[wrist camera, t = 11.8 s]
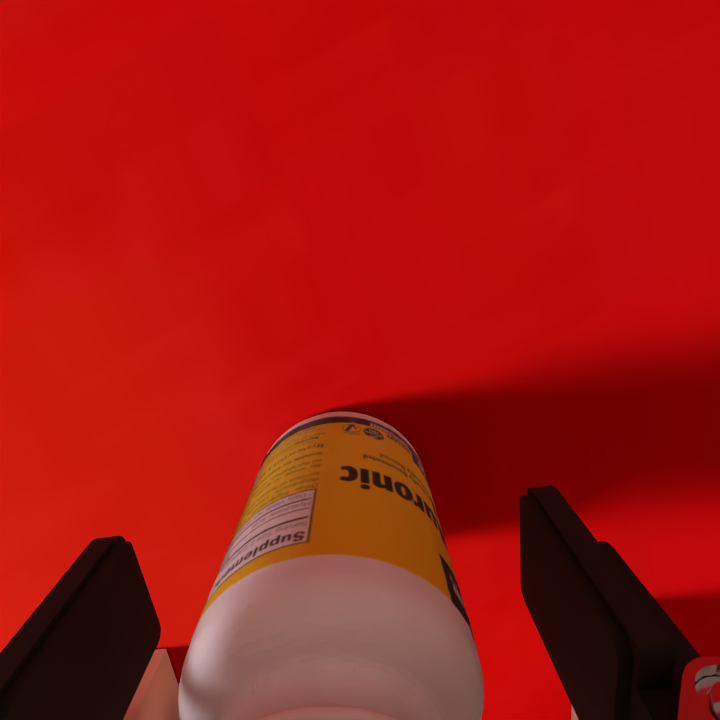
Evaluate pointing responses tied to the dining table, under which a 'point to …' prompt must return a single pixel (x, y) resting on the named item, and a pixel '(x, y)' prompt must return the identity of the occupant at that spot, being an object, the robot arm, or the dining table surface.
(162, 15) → the dining table surface
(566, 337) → the dining table surface
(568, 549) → the robot arm
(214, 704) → the supplement bottle
